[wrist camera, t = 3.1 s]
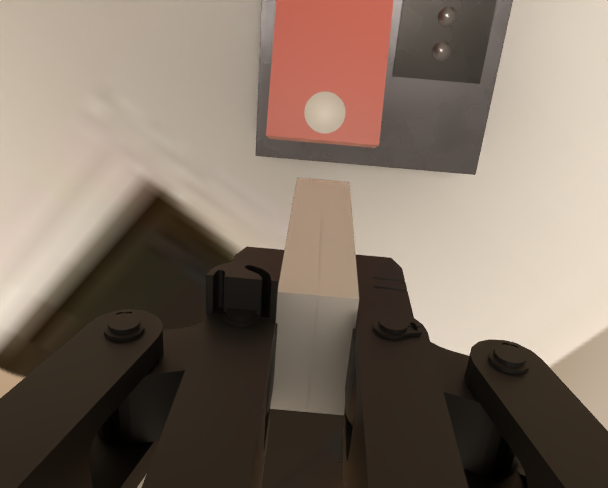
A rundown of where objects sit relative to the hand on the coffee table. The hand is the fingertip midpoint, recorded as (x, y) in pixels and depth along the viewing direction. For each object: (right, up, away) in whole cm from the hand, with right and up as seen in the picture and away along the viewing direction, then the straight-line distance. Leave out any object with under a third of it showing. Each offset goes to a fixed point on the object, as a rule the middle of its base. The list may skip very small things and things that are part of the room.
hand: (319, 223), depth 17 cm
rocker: (+1, +9, +9) cm, 13 cm away
